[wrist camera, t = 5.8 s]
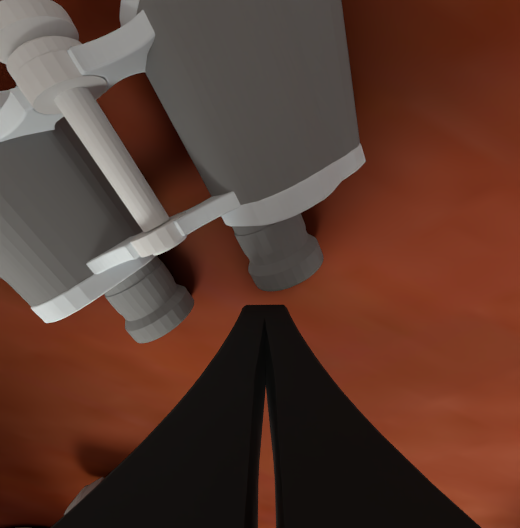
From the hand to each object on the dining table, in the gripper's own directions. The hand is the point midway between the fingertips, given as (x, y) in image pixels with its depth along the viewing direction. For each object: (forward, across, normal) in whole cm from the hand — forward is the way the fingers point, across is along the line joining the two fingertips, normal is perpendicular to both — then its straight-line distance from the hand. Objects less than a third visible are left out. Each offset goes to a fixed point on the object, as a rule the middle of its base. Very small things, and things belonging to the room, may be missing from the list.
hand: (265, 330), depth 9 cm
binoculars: (+2, +3, -4) cm, 6 cm away
